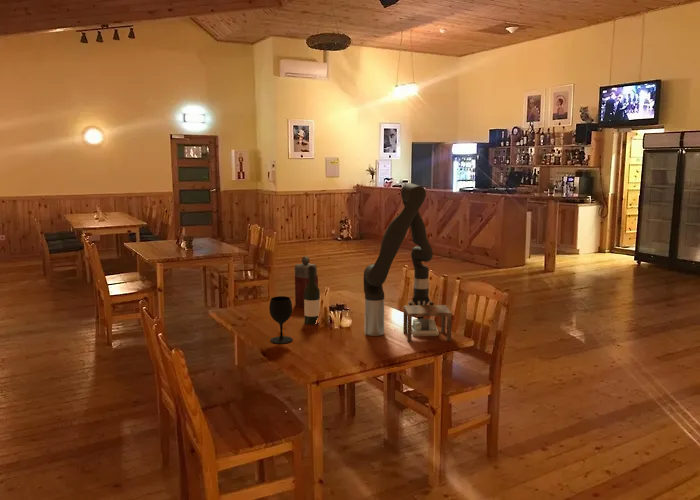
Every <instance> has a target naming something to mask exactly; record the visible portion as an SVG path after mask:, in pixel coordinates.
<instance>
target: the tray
mask: <svg viewBox="0 0 700 500" xmlns="http://www.w3.org/2000/svg"><path fill="white" fill-rule="evenodd" d="M439 335H440V333H439V329H438V328H437V326H436V321H435V320H434V319H433V318H429V317H428V318H427V317H426V318H425V317H424V318H420V320H419V319H418V318H413V319H412V331H411V336H413V337H438V336H439Z"/></svg>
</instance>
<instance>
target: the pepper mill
mask: <svg viewBox="0 0 700 500" xmlns="http://www.w3.org/2000/svg"><path fill="white" fill-rule="evenodd" d="M301 262H302V263H299V264H298V263H297V264H295V265H294V299H295V301H294V304H295V306H297V307H301V308H304V290H305V288H306V286H307V285H308V283H309V274H308V266H309V265H310V264H311V263H310V258H309V256H303V257H302V258H301ZM312 264H313V265H314V266H315V283H316V285H317V286H318V287H319V278H318V273H317V272H318V269H317V267H318V266H317V265H316V264H315V263H312Z"/></svg>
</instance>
